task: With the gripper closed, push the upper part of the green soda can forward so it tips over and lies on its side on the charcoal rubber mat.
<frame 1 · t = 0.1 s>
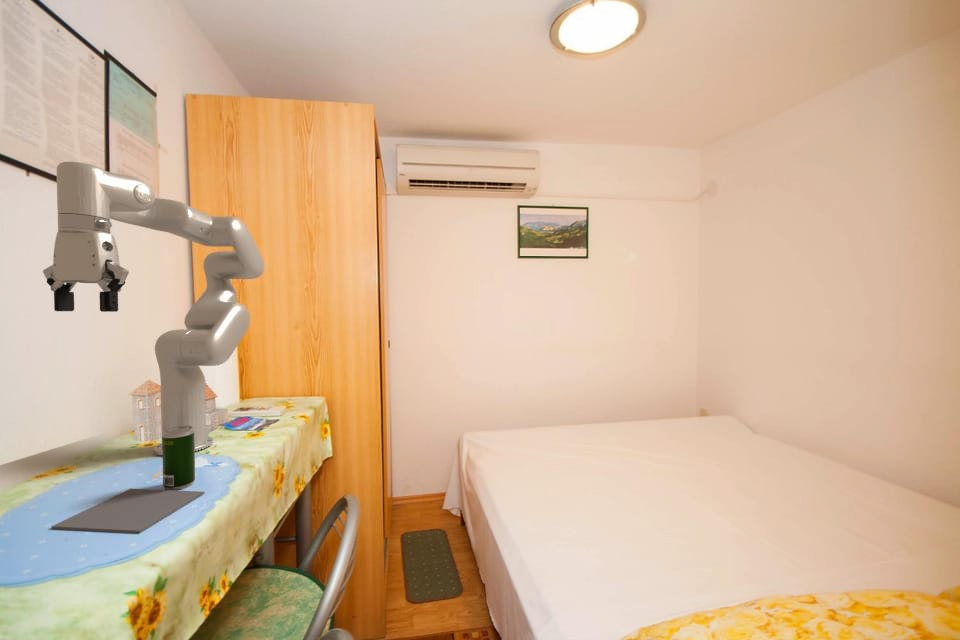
hand: (86, 311, 80), 37 cm above the table, tool pointing down, fingers open, 9 cm apart
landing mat: (134, 509, 73), on the table
green soda can: (179, 486, 83), on the table
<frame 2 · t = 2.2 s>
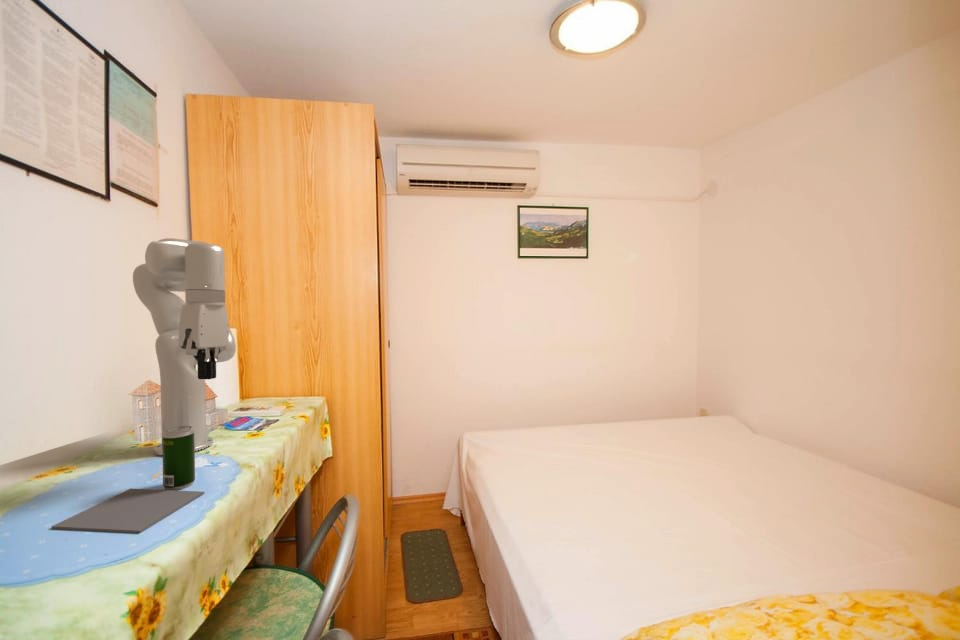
hand: (207, 378, 90), 21 cm above the table, tool pointing down, fingers closed
nothing on the table moved.
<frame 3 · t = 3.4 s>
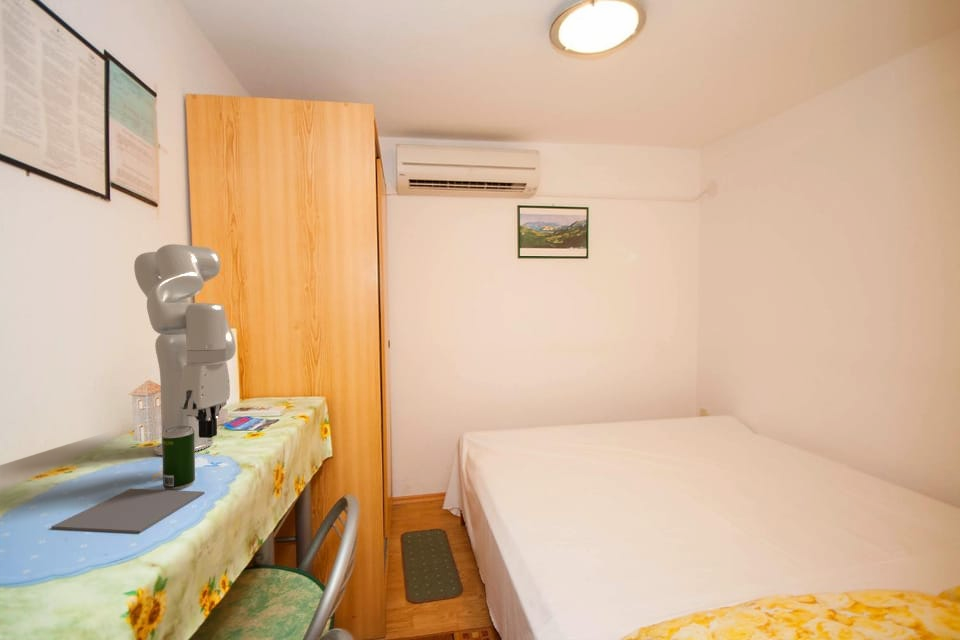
hand: (207, 436, 91), 8 cm above the table, tool pointing down, fingers closed
nothing on the table moved.
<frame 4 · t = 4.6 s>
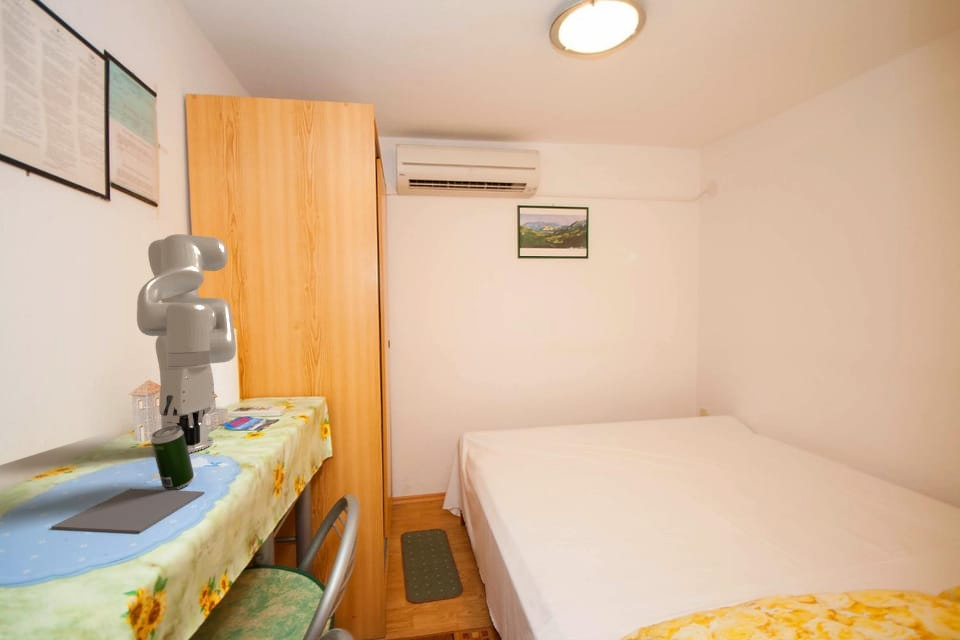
hand: (190, 444, 85), 8 cm above the table, tool pointing down, fingers closed
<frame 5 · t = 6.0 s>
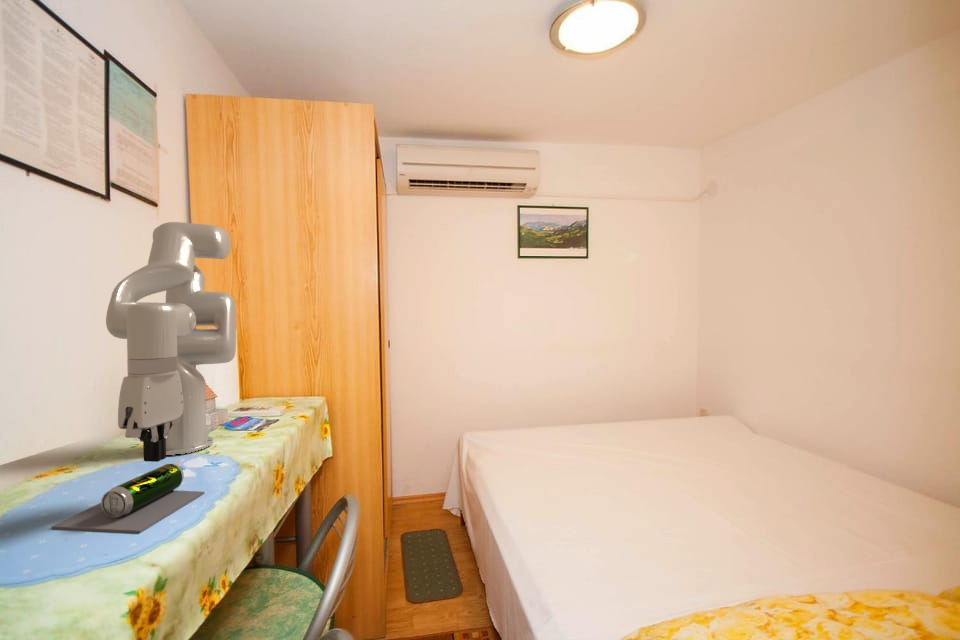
hand: (154, 459, 77), 8 cm above the table, tool pointing down, fingers closed
green soda can: (174, 474, 81), point 3 cm above the table, touching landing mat
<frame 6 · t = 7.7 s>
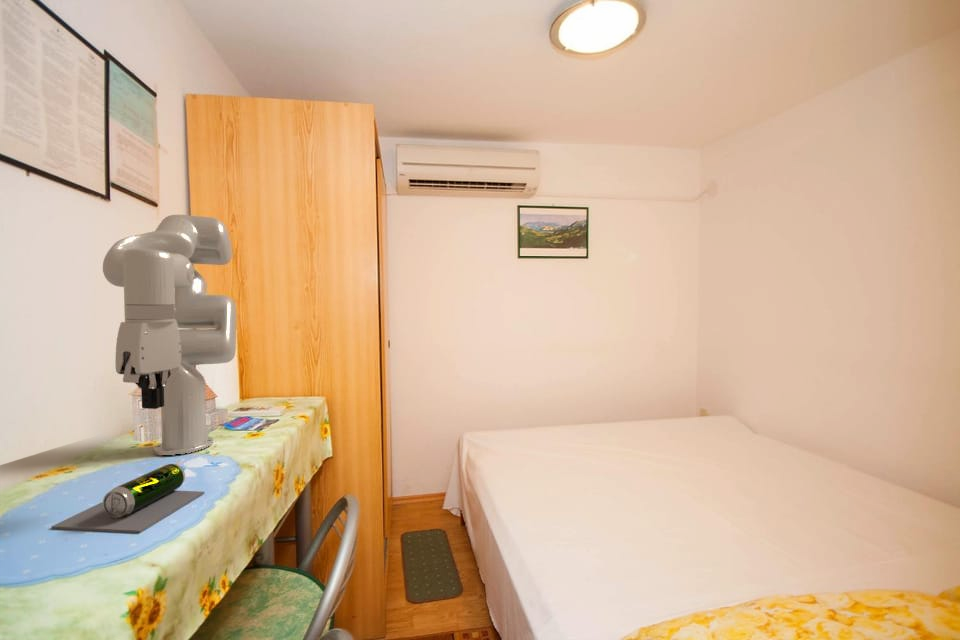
hand: (153, 407, 77), 18 cm above the table, tool pointing down, fingers closed
nothing on the table moved.
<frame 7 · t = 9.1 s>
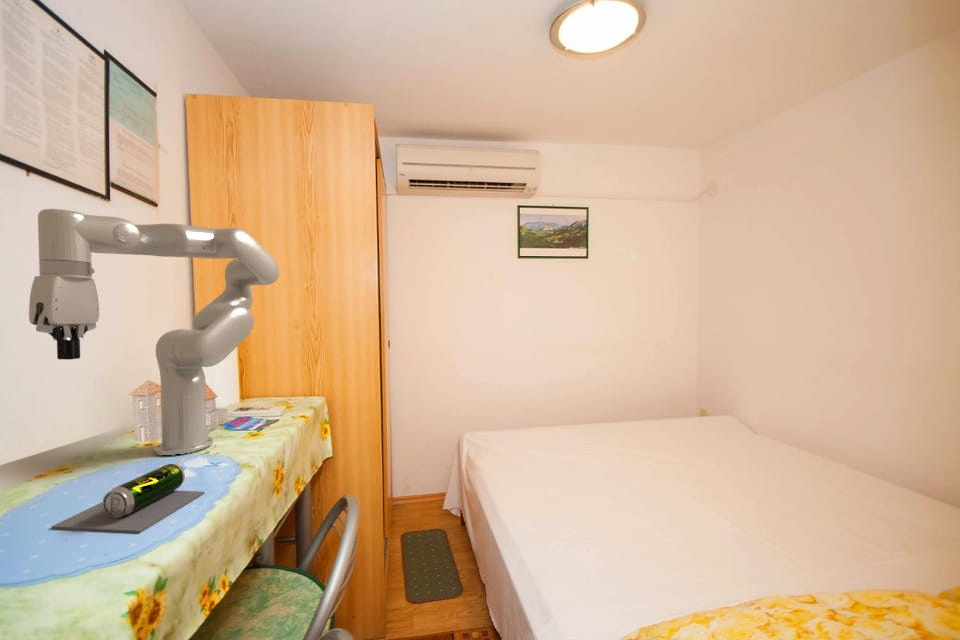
hand: (69, 358, 82), 27 cm above the table, tool pointing down, fingers closed
nothing on the table moved.
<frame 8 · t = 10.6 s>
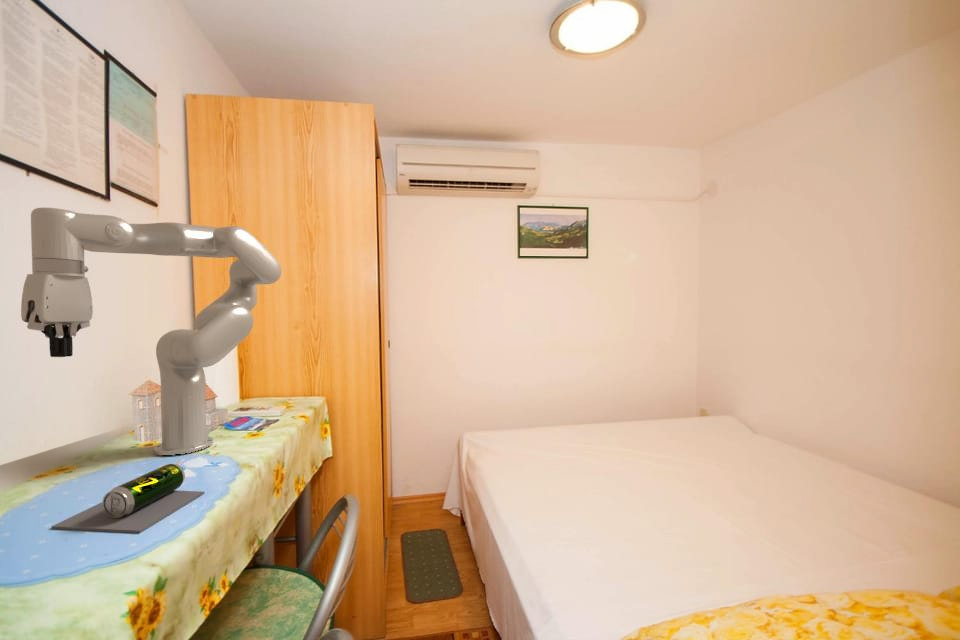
hand: (61, 356, 83), 27 cm above the table, tool pointing down, fingers closed
nothing on the table moved.
at the end: green soda can tilted 90°; green soda can touching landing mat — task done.
